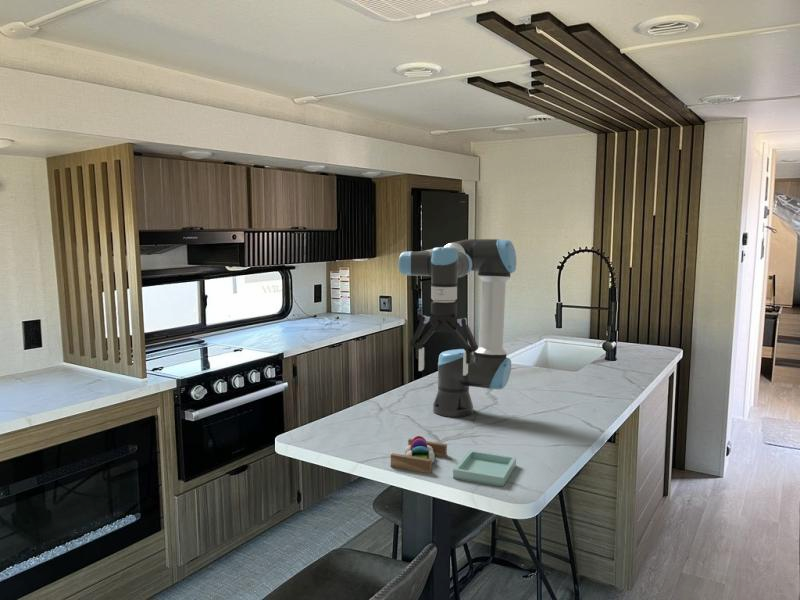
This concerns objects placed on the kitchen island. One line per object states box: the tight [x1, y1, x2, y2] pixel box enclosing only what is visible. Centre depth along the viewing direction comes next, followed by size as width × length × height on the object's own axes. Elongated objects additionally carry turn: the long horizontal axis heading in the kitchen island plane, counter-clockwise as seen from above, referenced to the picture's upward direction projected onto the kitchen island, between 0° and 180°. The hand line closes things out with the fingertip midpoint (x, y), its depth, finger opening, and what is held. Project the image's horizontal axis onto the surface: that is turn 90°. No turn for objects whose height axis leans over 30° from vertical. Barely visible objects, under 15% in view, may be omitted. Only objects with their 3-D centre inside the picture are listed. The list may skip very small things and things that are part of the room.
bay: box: [390, 438, 448, 474], centre depth 179 cm, size 15×12×4 cm
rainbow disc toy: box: [404, 435, 436, 464], centre depth 178 cm, size 8×10×7 cm
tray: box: [452, 449, 517, 488], centre depth 171 cm, size 16×14×2 cm
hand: (443, 372), depth 178 cm, fingers open, 13 cm apart
